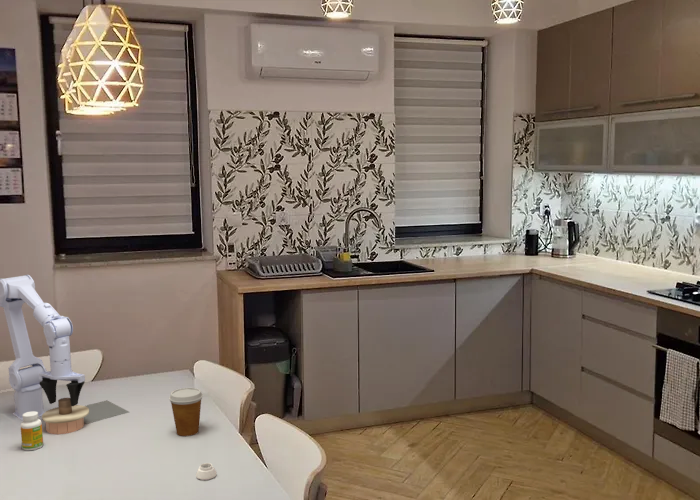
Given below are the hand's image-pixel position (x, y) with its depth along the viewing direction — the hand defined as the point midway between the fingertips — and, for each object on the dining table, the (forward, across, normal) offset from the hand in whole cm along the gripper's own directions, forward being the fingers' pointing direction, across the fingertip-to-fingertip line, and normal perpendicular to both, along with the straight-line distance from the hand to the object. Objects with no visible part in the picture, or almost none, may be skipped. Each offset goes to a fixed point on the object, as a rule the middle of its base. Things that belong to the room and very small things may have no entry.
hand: (63, 403), depth 211 cm
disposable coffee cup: (+8, -37, -6) cm, 39 cm away
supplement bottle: (+8, 0, +14) cm, 16 cm away
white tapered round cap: (+8, -56, +19) cm, 60 cm away
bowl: (+8, 0, 0) cm, 8 cm away
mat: (+8, -1, -14) cm, 16 cm away
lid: (+4, 0, -1) cm, 4 cm away
